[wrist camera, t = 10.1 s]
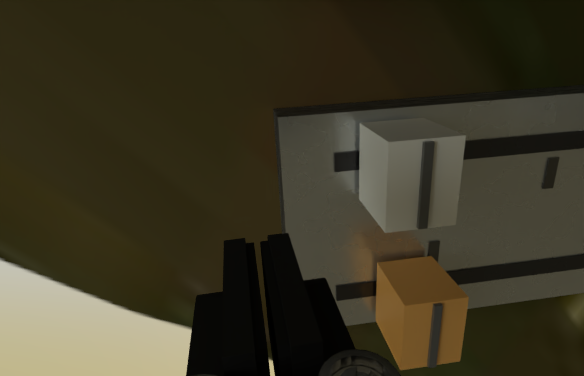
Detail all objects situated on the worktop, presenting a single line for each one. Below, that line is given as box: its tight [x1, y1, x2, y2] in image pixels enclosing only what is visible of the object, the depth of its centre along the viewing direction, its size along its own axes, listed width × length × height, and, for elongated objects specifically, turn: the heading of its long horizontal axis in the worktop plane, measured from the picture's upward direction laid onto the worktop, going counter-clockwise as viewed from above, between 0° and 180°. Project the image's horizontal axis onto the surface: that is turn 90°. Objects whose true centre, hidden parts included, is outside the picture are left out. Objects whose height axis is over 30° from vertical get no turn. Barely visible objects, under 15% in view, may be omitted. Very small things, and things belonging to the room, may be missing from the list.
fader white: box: [359, 118, 466, 233], centre depth 17 cm, size 3×4×4 cm
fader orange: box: [375, 256, 469, 370], centre depth 20 cm, size 3×4×4 cm
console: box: [273, 85, 584, 326], centre depth 23 cm, size 23×13×3 cm, turn 93°
